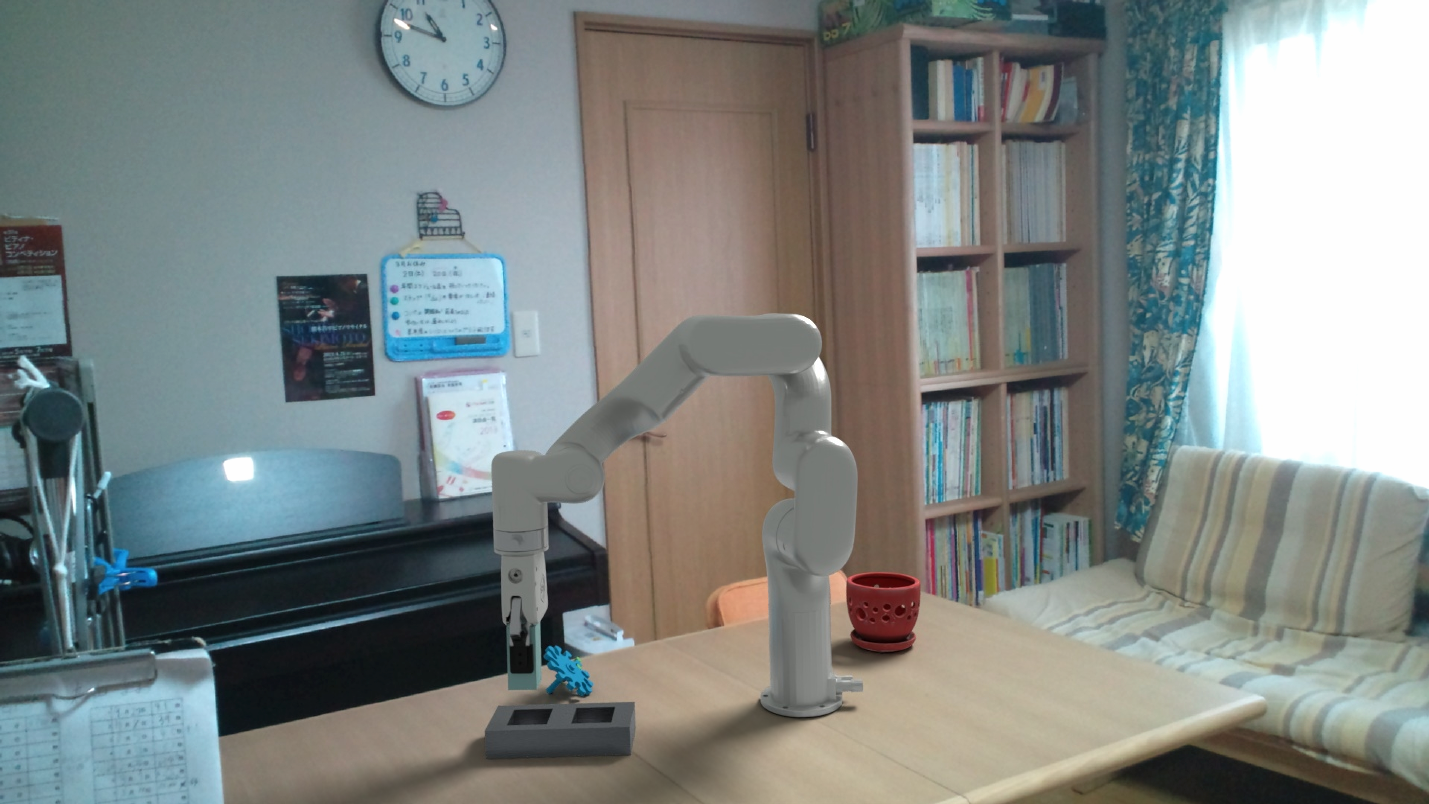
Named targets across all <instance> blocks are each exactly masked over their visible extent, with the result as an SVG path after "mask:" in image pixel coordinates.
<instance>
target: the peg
mask: <svg viewBox="0 0 1429 804" xmlns="http://www.w3.org/2000/svg"><path fill="white" fill-rule="evenodd" d="M521 623H527V620H526V619H521ZM521 629H522V630H521V631H524V632H525V633H526V628H521ZM541 641H542V640H541V621H540V622H539V623H538V624H537V625H533V623H531V644H533V656H534V671H533V673H531V674H512V673H511V672H510V649H509V646H510V624H509V625H508V626H507V625H506V655H507V656H506V657H507V658H506V661H507V664H506V665H507V667H506V668H507V691H536V690H538V689H539V686H540V684H541V682H542V648H541V647H542V646H541V645H542V643H541Z"/></svg>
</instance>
